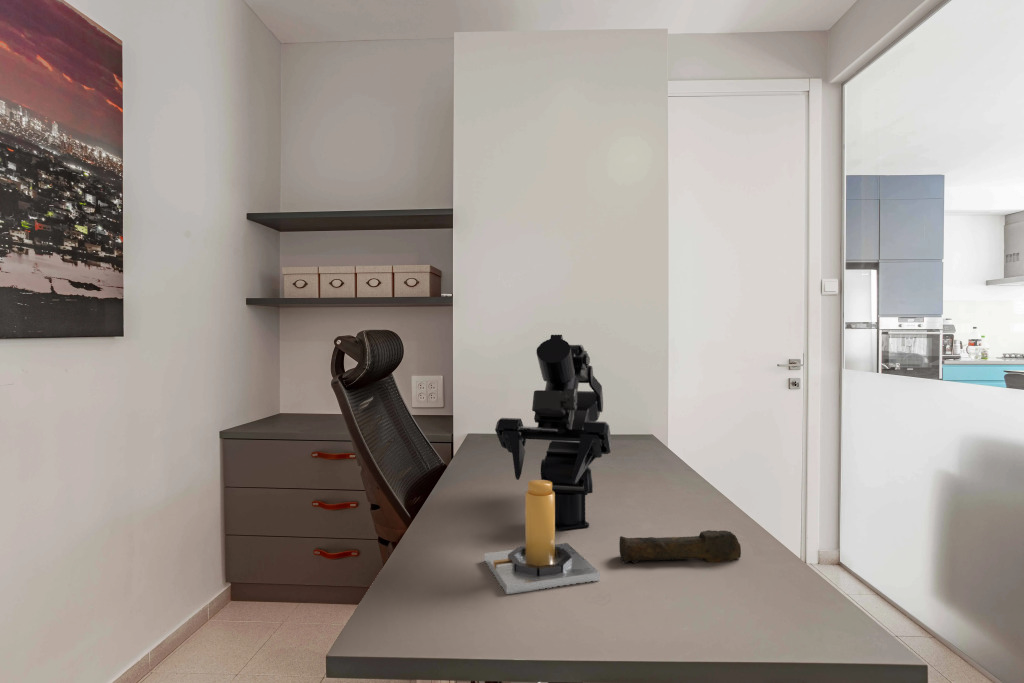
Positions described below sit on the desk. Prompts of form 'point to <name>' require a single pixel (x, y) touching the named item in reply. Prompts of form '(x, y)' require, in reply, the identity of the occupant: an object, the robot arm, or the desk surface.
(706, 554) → the hand tool
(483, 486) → the desk surface
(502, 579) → the plate
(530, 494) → the domed yellow peg
